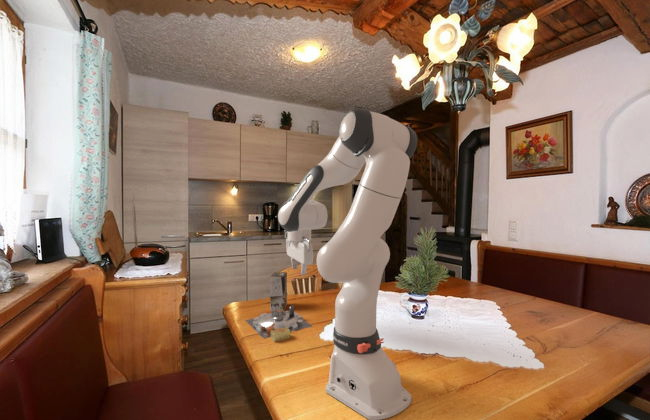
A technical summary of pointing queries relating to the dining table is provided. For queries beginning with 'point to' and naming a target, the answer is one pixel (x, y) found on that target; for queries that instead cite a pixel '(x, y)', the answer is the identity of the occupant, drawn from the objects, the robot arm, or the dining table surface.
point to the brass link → (280, 334)
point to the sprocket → (278, 320)
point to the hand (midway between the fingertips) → (298, 271)
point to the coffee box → (278, 291)
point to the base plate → (267, 335)
